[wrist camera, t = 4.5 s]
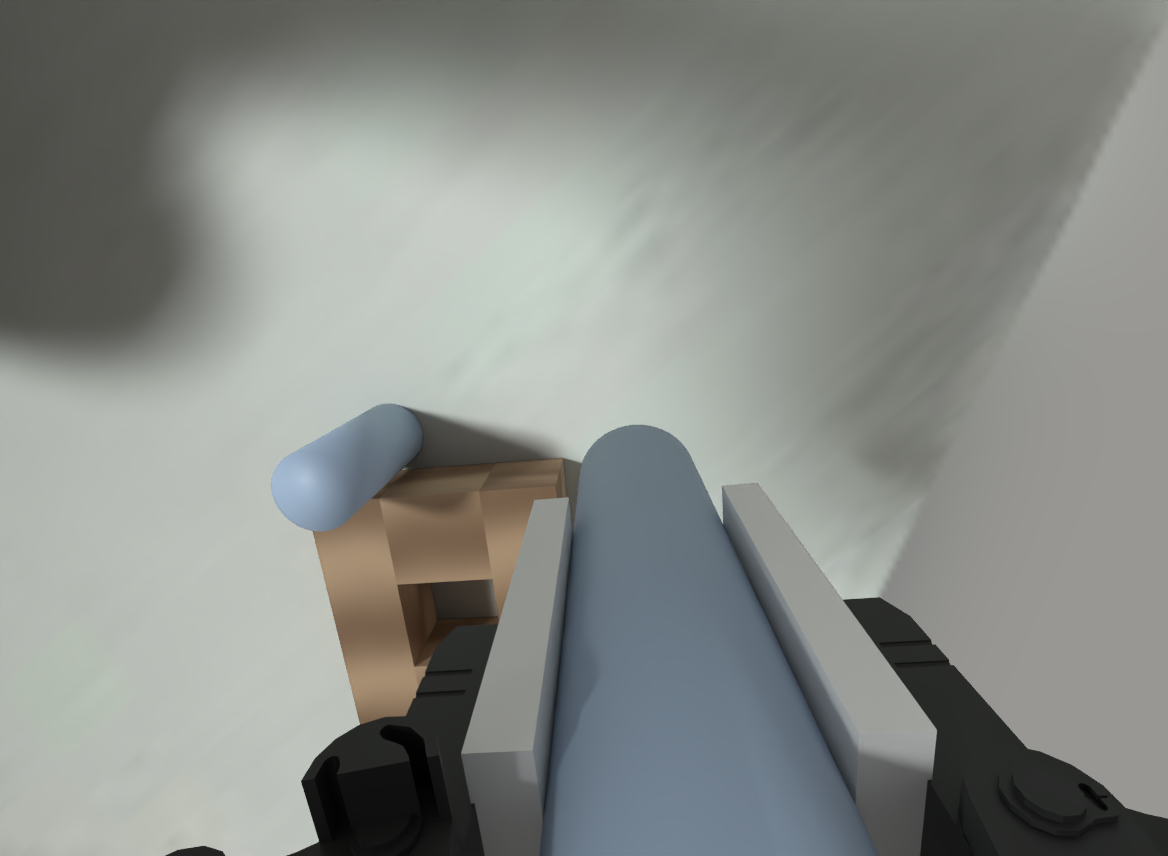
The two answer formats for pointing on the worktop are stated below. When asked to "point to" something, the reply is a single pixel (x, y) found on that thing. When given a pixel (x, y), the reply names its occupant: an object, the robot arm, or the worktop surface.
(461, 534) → the collar block
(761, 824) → the long dowel
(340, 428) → the short dowel
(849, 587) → the worktop surface
